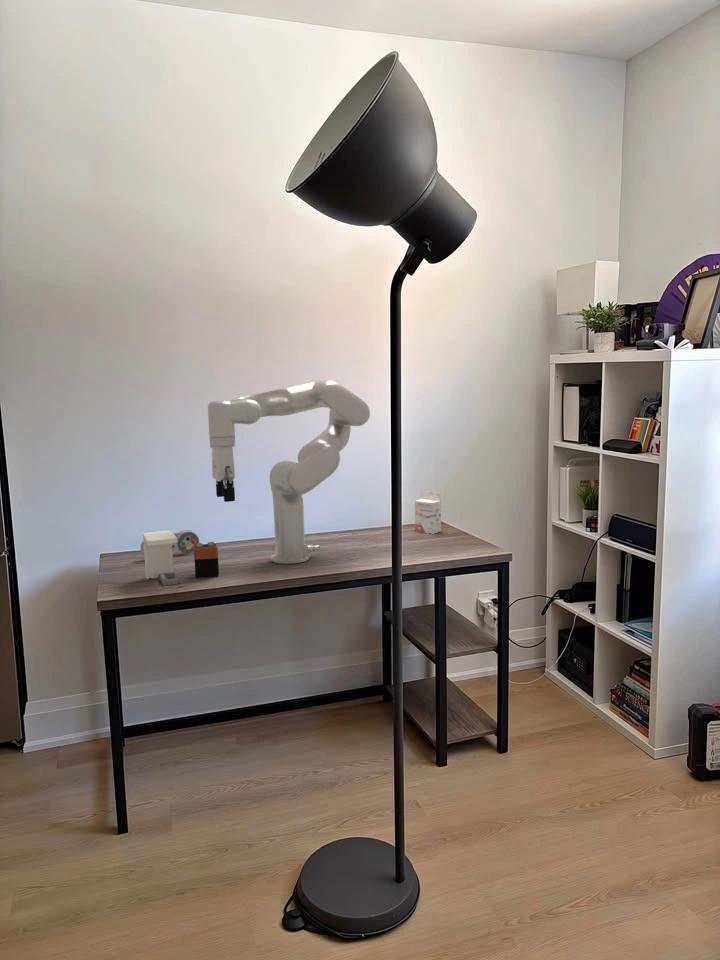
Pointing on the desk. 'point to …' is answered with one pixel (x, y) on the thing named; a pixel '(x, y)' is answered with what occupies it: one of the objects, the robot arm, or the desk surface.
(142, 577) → the desk surface
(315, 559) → the desk surface
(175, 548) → the game controller
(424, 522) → the ink cartridge box
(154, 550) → the overhang shelf
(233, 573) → the desk surface
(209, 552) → the battery
